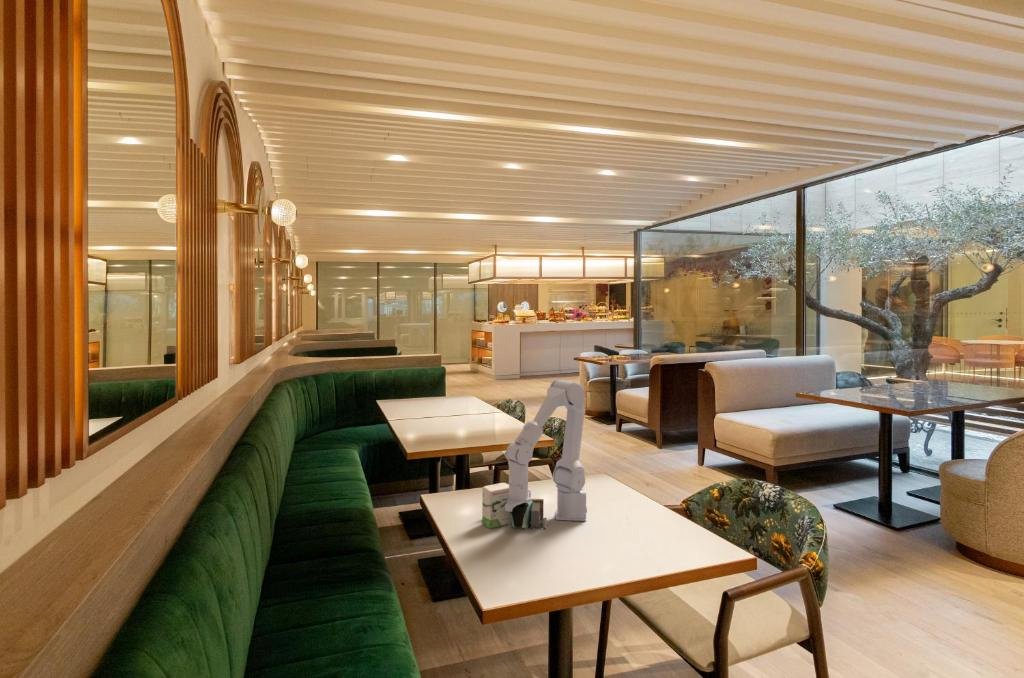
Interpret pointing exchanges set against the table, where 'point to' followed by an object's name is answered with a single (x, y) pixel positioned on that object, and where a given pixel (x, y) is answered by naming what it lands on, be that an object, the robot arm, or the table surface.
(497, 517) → the ink box
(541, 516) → the back board
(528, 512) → the book
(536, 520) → the bookend
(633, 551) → the table surface
